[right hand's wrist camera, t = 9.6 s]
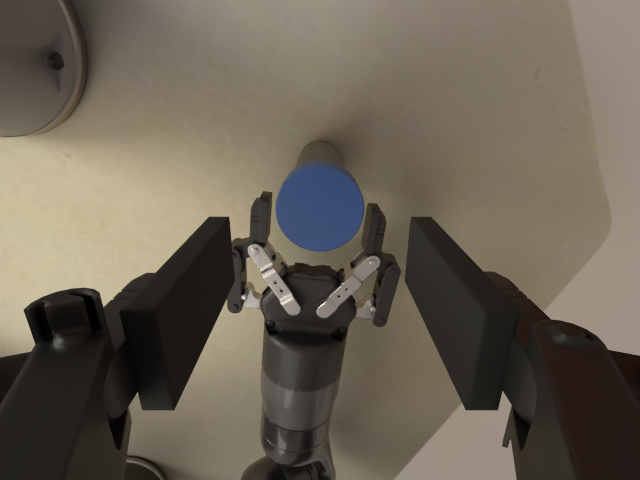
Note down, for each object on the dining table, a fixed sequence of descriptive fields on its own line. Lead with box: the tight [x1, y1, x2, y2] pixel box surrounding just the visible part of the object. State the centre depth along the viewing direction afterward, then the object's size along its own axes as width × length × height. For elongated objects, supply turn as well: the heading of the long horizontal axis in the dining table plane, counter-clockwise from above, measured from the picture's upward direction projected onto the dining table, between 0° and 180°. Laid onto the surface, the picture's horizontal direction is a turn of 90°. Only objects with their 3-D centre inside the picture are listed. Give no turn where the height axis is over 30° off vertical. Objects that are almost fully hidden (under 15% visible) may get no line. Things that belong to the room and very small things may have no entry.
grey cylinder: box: [295, 141, 345, 168], centre depth 27 cm, size 4×4×16 cm
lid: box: [276, 160, 364, 251], centre depth 20 cm, size 5×5×2 cm
